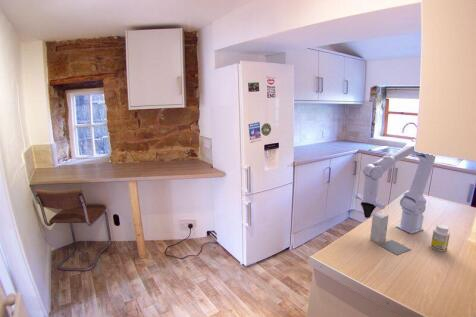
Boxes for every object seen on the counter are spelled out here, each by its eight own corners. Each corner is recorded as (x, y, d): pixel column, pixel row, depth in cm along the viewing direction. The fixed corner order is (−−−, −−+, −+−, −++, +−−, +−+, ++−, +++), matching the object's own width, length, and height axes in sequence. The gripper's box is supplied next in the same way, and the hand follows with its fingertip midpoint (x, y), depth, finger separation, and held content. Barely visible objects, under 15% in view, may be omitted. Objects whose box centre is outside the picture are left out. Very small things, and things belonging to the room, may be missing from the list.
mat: (392, 240, 121) (392, 239, 121) (410, 249, 113) (410, 249, 113) (378, 244, 117) (378, 244, 117) (396, 255, 109) (396, 254, 109)
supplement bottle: (440, 244, 117) (444, 223, 114) (449, 251, 112) (454, 229, 109) (427, 244, 117) (431, 223, 114) (436, 251, 112) (441, 230, 109)
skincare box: (378, 243, 118) (382, 218, 115) (369, 238, 122) (372, 214, 119) (386, 239, 121) (389, 214, 118) (376, 235, 125) (379, 211, 122)
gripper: (351, 186, 127) (348, 212, 130) (378, 197, 114) (374, 225, 118) (362, 184, 130) (359, 210, 133) (389, 194, 117) (385, 222, 120)
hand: (367, 217), depth 126 cm, fingers closed
